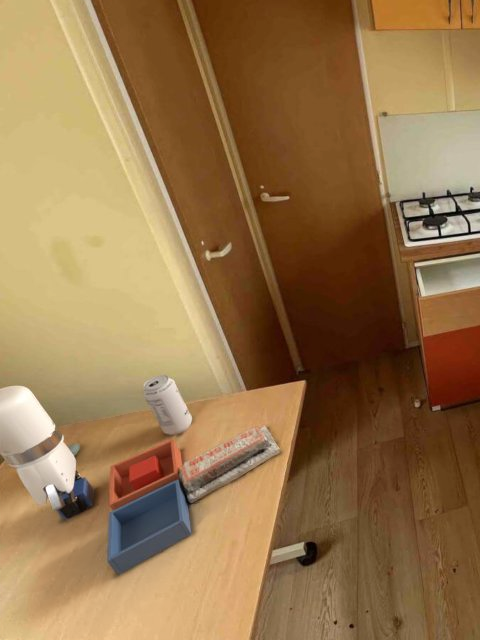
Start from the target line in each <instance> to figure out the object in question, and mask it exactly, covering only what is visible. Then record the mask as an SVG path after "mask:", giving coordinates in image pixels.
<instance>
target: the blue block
mask: <svg viewBox="0 0 480 640" xmlns="http://www.w3.org/2000/svg"><path fill="white" fill-rule="evenodd" d="M59 491H60V490H59ZM73 491H74V493H75V495H76V496H80V497H81V499H82V500H83V501H84V502H85V504H86V505H87V506H88V509H90V508H92V507H94V501H95V490H94V488H93V486H92V485H91V483H90V482H89V481H88V479H87V478H86V477H85V476H84V477H82V478H81V479H79V480H77V481H75V482H74V486H73ZM67 497H69V495H68V494H67V493H66V494H64V495H62V496H61V498H62V499H65V498H67ZM55 512H57V513H58V514H59V515H60V517H61V518H62V519H63V520H68V519H67V518H66V517H65V516H64V515H63V514H62V513H61V511H60V510H59V509H58V510H56V511H55Z"/></svg>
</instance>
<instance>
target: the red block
mask: <svg viewBox="0 0 480 640" xmlns="http://www.w3.org/2000/svg"><path fill="white" fill-rule="evenodd" d="M161 478H164V476H163V468H162V466H161V464H160V463H159V461H158V459H157V457H156V456H152V457H150V458H148V459H146V460H143V461H141V462H139V463H137V464H134V465H132V466H130V467H129V482H130V483H131V485H132V486H133V488H134V489H135V491H136V490H138V489H140V488H143V487H145V486H147V485H149V484H151V483H153V482H155V481H157V480H159V479H161Z"/></svg>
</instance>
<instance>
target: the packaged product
mask: <svg viewBox="0 0 480 640" xmlns="http://www.w3.org/2000/svg"><path fill="white" fill-rule="evenodd" d="M278 454H280V447H279V446H278V444H277V443H276V440H275V439H274V437H273V435H272V433H271V432H270V430H269V429H268V428H267V426H266V425H264V426H262V427H259V426H254V427H252V428H250V429H248V430H246V431H244V432H242V433H240V434H239V435H236V436H234V437H232V438H231V439H228V440H226V441H225V442H223V443H221V444H219V445H217V446H215V447H213V448H211V449H209V450H206V451H205V452H203V453H201V454H199V455H197V456H195V457H193V458H191V459H189V460H187V461H184V462H183V463H182V465H181V468H180V473H179V476H180V479H181V482H182V483H183V485H184V487H183V488H184V490H185V491H186V497H187V501H188V502H189V503H190V504H193V503H195V502H196V501H198V500H200V499H202V498H203V497H205V496H206V495H207V496H208V495H209V494H210V493H212V492H214V491H216V490H217V489H220V488H221V487H224V486H225V485H227V484H229V483H232V482H233V481H236V480H237V479H239V478H240V477H242V476H243V475H245V474H246V473H248V472H250V471H251V470H252V469H255V468H257V467H258V466H260V465H261V464H263V463H265V462H267V461H268V460H270V459H272V458H273V457H275V456H276V455H278Z"/></svg>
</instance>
